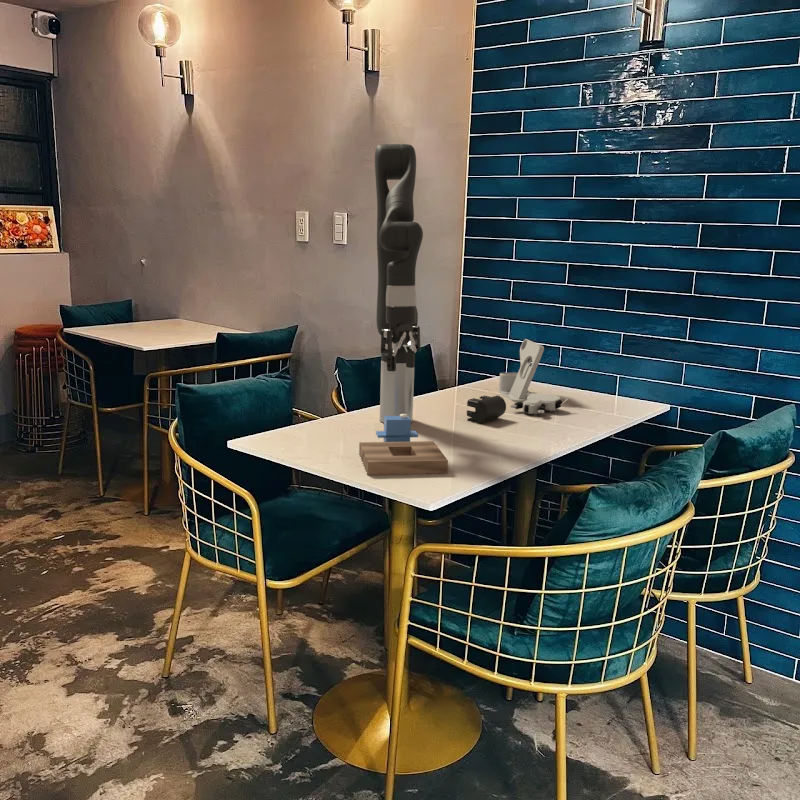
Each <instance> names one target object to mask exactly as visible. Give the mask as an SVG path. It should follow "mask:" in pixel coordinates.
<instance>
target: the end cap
mask: <svg viewBox="0 0 800 800" xmlns="http://www.w3.org/2000/svg"><path fill="white" fill-rule="evenodd" d="M466 407H470V408H473V409H474V411H473V410H466V416H467V417H469V418H466V419H467V420H466V421H467V422H470V421H471V423H475V422H476V424H482V423H485V422H488V421H489V422H490V421H492V420H496V419H498V418H500V417H502V416H503V415H504V414H505V413H506V410H507V403H506V401H505V399H504V398H503V397H502V396H500V395H493V396H489V395H482V396H481V395H480V396H479V398H476V397H474V398H469V399H468V400H467V403H466Z"/></svg>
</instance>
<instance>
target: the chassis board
mask: <svg viewBox="0 0 800 800" xmlns="http://www.w3.org/2000/svg"><path fill="white" fill-rule="evenodd" d="M358 447H359V448H358V449H359V450H358V451H359V453H358V455H359V458H360V457H361V458H360V461H361V462H363V463H362V464H363V468H364V467H365V468H364V470H365V473H366V472H367V473H366V475H367V476H383V475H384V476H385V475H386V476H387V475H389V476H390V475H391V474H395V475H430V474H431V473H432V474H433V475H434V474H435V475H436V474H437V475H438V474H439V473H441V474H448V466H449V460H448V458H447V457H446V456H445V454H444V453H443V452H442V450H441V449H440V447H439V446H438V445H437V444H436V443H435V441H434V440H428V441H427V440H426V441H419V440H418V441H417V440H416V441H410V442H384V441H364V442H363V441H360V442H359V446H358ZM426 473H427V474H426ZM428 473H430V474H428ZM432 474H431V475H432Z"/></svg>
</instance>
